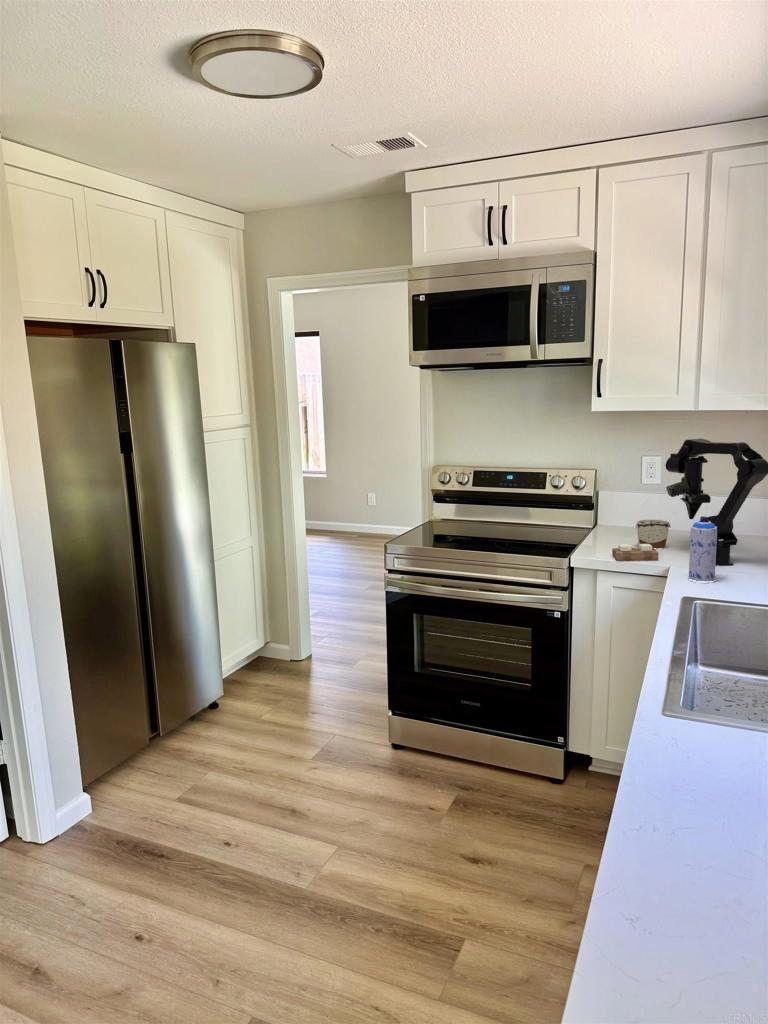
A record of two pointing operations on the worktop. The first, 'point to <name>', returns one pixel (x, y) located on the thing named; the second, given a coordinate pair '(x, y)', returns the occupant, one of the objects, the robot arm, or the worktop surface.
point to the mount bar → (635, 555)
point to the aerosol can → (703, 550)
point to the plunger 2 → (645, 547)
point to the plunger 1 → (624, 547)
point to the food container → (653, 532)
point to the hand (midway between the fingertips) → (691, 519)
